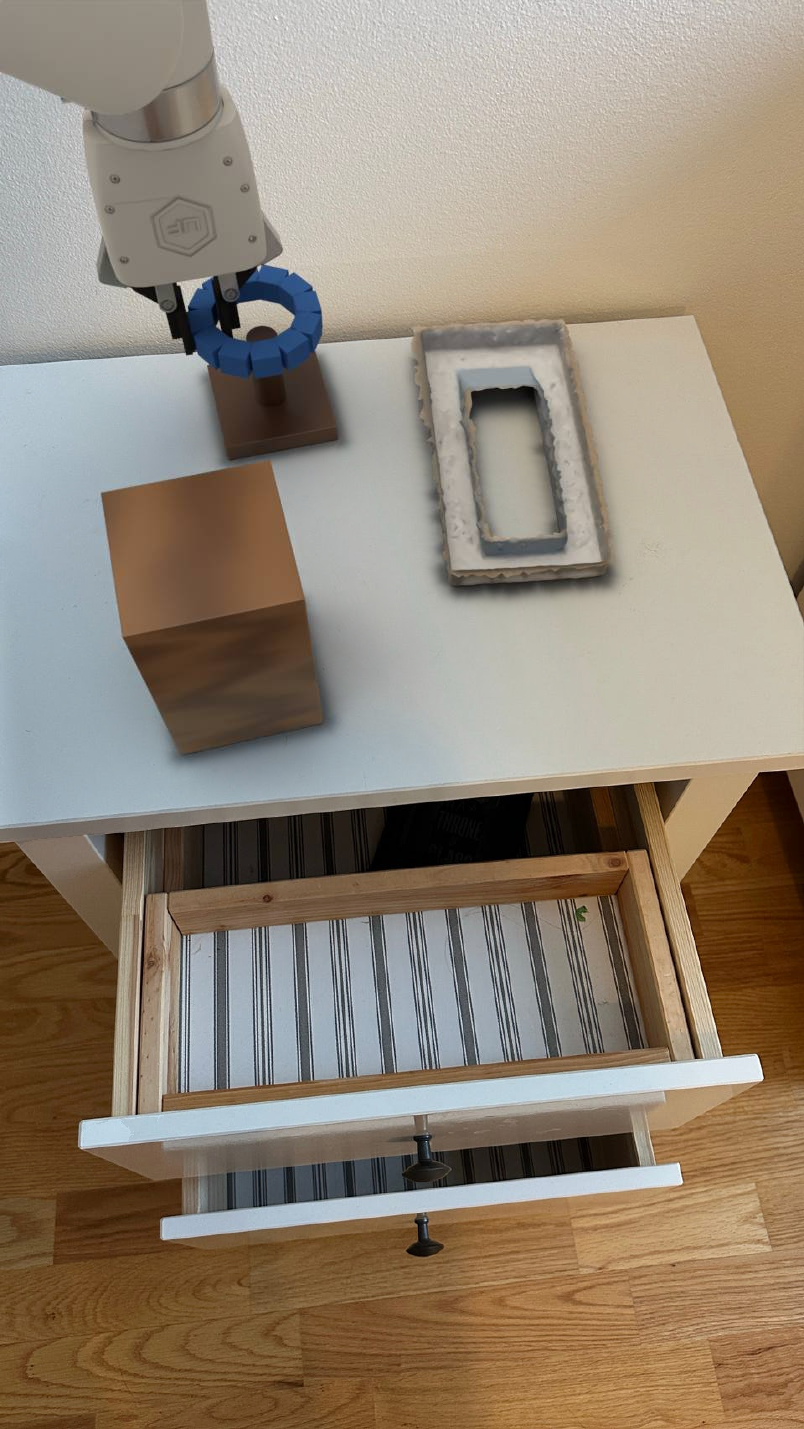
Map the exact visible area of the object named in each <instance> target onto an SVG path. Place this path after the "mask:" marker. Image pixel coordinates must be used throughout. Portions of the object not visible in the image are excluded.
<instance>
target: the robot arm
mask: <svg viewBox="0 0 804 1429" xmlns="http://www.w3.org/2000/svg"><path fill="white" fill-rule="evenodd" d="M0 73H3V74H4V75H7V76H10V77H11V78H14V79H16V80H20V81H22V82H24V83H26V84H28V85H31V86H34V87H36V88H38V89H41V90H43V91H45V92H47V93H49V94H53V95H55V96H57V97H59V98H60V101H61V103H62V104H63V105H64V104H72V103H73V104H75V105H77V106H79V107H82V108H83V111H82V139H83V148H84V149H83V150H84V158H85V163H86V169H87V174H88V179H89V185H90V189H91V194H92V197H93V200H94V201H93V202H94V205H95V206H94V207H95V209H96V214H97V218H98V222H99V226H100V229H101V234H102V235H101V241H100V243H99V244H100V245H99V249H98V255H97V259H96V264H95V265H96V267H95V268H96V273H97V277H98V279H97V280H98V281H99V283H101V284H103V285H106V286H111V287H117V288H122V289H128V288H129V289H132V291H134V292H135V293H137V294H139V295H140V296H142V297H144V298H146V299H148V300H150V301H152V302H154V303H156V304H157V305H158V307H159V310H160V311H162V312H163V313H165V316H166V320H167V323H168V324H167V325H168V327H169V331H170V336H171V339H172V340H173V341H174V340H179V339H181V340H182V344H183V347H184V352H185V356H186V357H187V356H192V355H194V353H196V350H195V348H194V344H193V339H192V335H191V331H190V326H189V321H188V317H187V308H186V305H185V299H184V295H183V291H182V287H181V285H180V284H179V285H178V283H183V282H187V281H188V282H189V281H193V280H194V281H195V280H200V279H205V278H212V277H213V279H214V280H211V283H212V288H213V293H214V298H215V303H216V308H217V313H218V318H219V322H218V324H219V327H220V330H221V331H222V332H223V333H225V334H226V335H227V336H228V337H230V338H234V334H233V333H234V332H233V330H236V329H237V330H238V329H241V327H242V326H241V320H240V314H239V309H238V304H237V302H236V300H237V299H238V298H239V296H240V292H239V290H240V289H241V288H242V286H243V285H244V284H245V283H246V282H247V281H248V279H249V278H250V277H251V276H252V275H253V274H254V272H255V271H256V269H258V268H259V267H260V266H261V267H262V265H267V264H268V263H269V262H271V261H273V260H274V259H276V258H278V257H279V256H280V255H282V254H283V252H284V247H283V244H282V241H281V238H280V235H279V233H278V232H277V230H276V229H275V227H274V226H273V225H272V223H271V222H270V220H269V219H268V217H267V216H266V214H265V212H263V210H262V205H261V200H260V195H259V189H258V183H257V180H256V173H255V169H254V164H253V159H252V155H251V151H250V146H249V143H248V139H247V136H246V132H245V129H244V125H243V122H242V120H241V119H242V118H241V117H240V114H239V110H238V109H237V106H236V103H235V101H234V100H233V98H232V94H231V93H230V92H229V90H228V89H227V88H226V86H224V85H223V84H222V83H220V79H219V72H218V66H217V60H216V53H215V46H214V42H213V36H212V28H211V22H210V16H209V10H208V2H207V0H0Z"/></svg>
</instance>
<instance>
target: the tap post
mask: <svg viewBox="0 0 804 1429" xmlns="http://www.w3.org/2000/svg"><path fill="white" fill-rule="evenodd" d="M278 335H279V334H278V333H277V331H276V329H274V328H273V327H271V326H268V325H258V326H255V327H254V326H253V327H252V328H251V329H249V330H248V331H247V333H246V335H245V341H248V342H256V341H261V340H267V339H273V338H274V337H276V336H278ZM206 368H207V373H208V377H209V378H208V379H209V381H210V382H209V383H210V386H211V391H212V396H213V399H214V405H215V408H216V409H215V410H216V413H217V418H218V422H219V427H220V432H221V436H222V439H223V445H224V449H225V454H226V459H227V460H228V461H231V460H235V459H242V458H246V457H252V456H256V455H257V456H258V455H262V454H267V453H272V452H277V451H283V450H288V449H294V448H298V447H303V446H310V445H314V444H320V443H324V442H325V443H326V442H330V441H334V440H335V441H337V440H338V439H339V432H338V431H339V430H338V424H337V421H336V417H335V414H334V410H333V406H332V404H331V401H330V400H331V399H330V397H329V394H328V390H327V386H326V383H325V379H324V376H323V372H322V369H321V365H320V363H319V359H318V356H317V352H316V351H315V352H314V353H310V358H309V359H307V360H306V361H304V362H303V363H301V364H300V365H298V366H297V367H295V368H294V369H292V370H291V371H288V370H286V369H285V368H284V367H283V366H282V368H283V374H280V375H274V376H269V377H263V378H257V379H255V378H254V374H253V370H252V372H251V374H250V377H249V379H247V378H242V377H238V376H233V375H229V374H225V373H221V368H219V369H217V370H215V369H214V368H213V367H212V366H210V365H209V364H207V365H206Z"/></svg>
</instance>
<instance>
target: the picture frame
mask: <svg viewBox="0 0 804 1429" xmlns="http://www.w3.org/2000/svg"><path fill="white" fill-rule="evenodd" d="M410 329H411V331H413V337H412V339H411V342H410V347H411V353H412V355H413V359H415V361H417V362H418V363H417V365H414V368H415V370H416V371H417V372H416V373H415V374H414V382H415V385H416V386H419V395H418V398H417V401H421V400H422V402H423V403H422V404H423V407H422V409H421V411H420V413H419V417H418V418H419V419H422V420H423V425H424V426H425V427H427V428H429V433H430V434H429V435H430V437H429V438H428V439H427V440H426V442H429V443H430V442H431V447H432V455H431V456H432V457H431V461H432V462H431V463H432V469H433V474H434V478H433V481H434V482H435V483H436V485H437V486H436V487H437V488H436V492H437V497H438V504H437V506H438V510H439V518H440V523H441V532H442V542H443V546H442V549H443V552H442V553H441V554H442V559H443V560H444V565H445V569H446V573H447V578H448V582H449V584H450V586H470V585H471V586H474V585H487V584H491V585H493V584H502V583H508V584H513V583H523V582H538V581H539V582H543V581H554V580H565V579H581V578H592V577H598V576H603V575H605V573H606V570H607V568H608V565H609V563H610V564H611V565H612V564H613V561H614V560H615V552H614V551H613V549H612V545H613V541H612V540H611V539H610V537H609V536H610V532H609V531H610V522H609V521H608V520H607V519H608V516H609V514H610V513H609V511H608V504H607V501H605V499H603V495H604V493H605V492H604V490H603V489H602V488H603V485H602V483H601V474H600V471H599V468H598V459H599V456H598V454H597V452H596V444H597V443H596V442H594V441H593V438H594V430H593V426H592V425H591V424H590V422H589V420H588V417H587V406H586V405H585V403H584V402H587V399H586V394H585V391H584V389H583V388H582V387H581V377H580V375H579V374H581V372H580V366H579V361H578V360H575V354H576V352H575V351H574V349H572V348H573V346H574V345H573V341H572V338H571V336H570V330H569V329H568V326H567V325H566V322H565V320H564V319H563V318H559V319H550V318H549V319H548V318H542V319H539V320H536V319H532V318H528V319H523V321H521V320H516V319H512V320H507V321H499V322H496V323H494V322H486V321H481V322H477V323H476V322H475V323H472V324H471V323H467V324H463V323H460V322H457V323H456V322H455V323H448V324H445V325H440V324H439V325H438V324H434V325H431V326H429V327H428V326H423V325H415V326H413V327H410ZM522 386H524V387H531V388H532V387H533V393H534V399H535V402H536V411H537V417H538V419H539V425H540V427H539V428H540V430H541V436H542V439H543V441H542V443H543V449H544V453H545V460H546V462H547V470H548V473H549V481H550V485H551V489H552V497H553V498H552V499H553V502H554V508H555V513H556V518H557V525H558V530H559V532H555V531H554V532H552V534H539V535H536V536H534V537H533V536H532V537H510V538H503V537H501V536H499V535H493V536H491V533H490V531H489V530H490V529H489V523H486V522H485V515H486V511H487V509H486V507H485V506H484V504H483V502H482V496H481V495H480V494H481V492H482V487H481V486H480V484H479V480H480V477H481V476H480V475H478V472H477V470H476V462H477V456H476V455H477V452H478V450H477V448H476V447H475V445H474V442H475V441H476V439H477V438H476V436H475V432H476V430H477V427H476V426H474V424H473V420H472V419H470V415H471V410H472V406H473V401H472V400H473V399H472V392H474V391H476V392H477V391H478V392H479V391H483V390H485V389H496V388H498V389H501V390H504V389H510V388H512V389H517V388H520V387H522Z"/></svg>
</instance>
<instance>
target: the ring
mask: <svg viewBox="0 0 804 1429" xmlns="http://www.w3.org/2000/svg"><path fill="white" fill-rule="evenodd" d="M289 272H290V271H289V269H287V268H282V267H276V266H272V265H267V264H264V265H262V266H261V267H260V268H259V269H258V268H257V269H256V271H255V272H254V274H253V275H252V276H251V277H250V278H249V279H248V281H247V282H246V283H245V284H244V285H243V286H242V288H241V289H240V290H239V292H240V296H239V298H238V299H237V300H236V302H237V305H238V304H242V303H250V302H255V301H263V302H268V303H273V304H277V305H280V306H281V307H283V308H284V309H285V310H286V311H288V312H289V313H291V314H292V315H293V316H294V318H293V319H292V322H291V324H290V326H289V327H288V328H287V329H285V330H284V331H282V332H281V333H279V334H277V335H278V336H276V337H274V338H273V339H267V340H261V341H256V342H248V341H246V340H243V339H238V338H235V337H233V338H230V337H228V336H227V335H226V334H225V333H223V332H222V331H221V328H219V327H217V325H218V324H219V318H218V313H217V308H216V303H215V298H214V293H213V288H212V283H211V280H214V279H213V276H212V277H209V278H208V279H206V281H204V282H202V283H201V287H197V288H196V290H195V292H194V294H193V296H192V297H191V300H190V301H189V302H188V305H187V310H186V312H187V317H188V321H189V326H190V331H191V335H192V339H193V344H194V348H195V351H196V352H197V355H198V357H200V358H201V359H202V360H203V361H204V362H206V363H207V365H210V366H212V367H213V368H214V369H215V370H217V369H219V368H221V373H225V374H229V375H233V376H238V377H242V378H247V379H249V377H250V374H251V372H252V370H253V374H254V378H255V379H257V378H263V377H269V376H274V375H280V374H283V368H282V366H283V367H284V368H285V369H286V370H288V371H291V370H292V369H294V368H295V367H297V366H298V365H300V364H301V363H303V362H304V361H306V360H307V359H309V358H310V353H314V352H316V349H317V347H318V345H319V343H320V341H321V338H322V337H323V328H324V327H323V326H324V325H323V312H322V307H321V303H320V301H319V297H318V294H317V291H316V290H314V286H313V285H311V284H310V283H309V282H308V281H307V280H305V279H304V278H302V277H301V276H300V275H298V274H297V273H296V272H295V271H293V272H291V274H290V273H289Z"/></svg>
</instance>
